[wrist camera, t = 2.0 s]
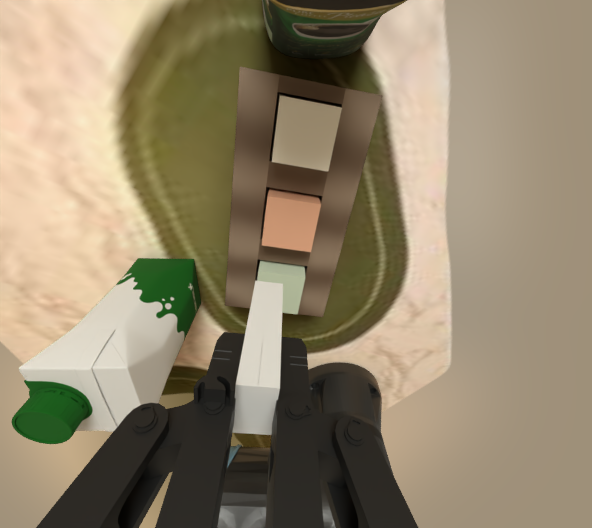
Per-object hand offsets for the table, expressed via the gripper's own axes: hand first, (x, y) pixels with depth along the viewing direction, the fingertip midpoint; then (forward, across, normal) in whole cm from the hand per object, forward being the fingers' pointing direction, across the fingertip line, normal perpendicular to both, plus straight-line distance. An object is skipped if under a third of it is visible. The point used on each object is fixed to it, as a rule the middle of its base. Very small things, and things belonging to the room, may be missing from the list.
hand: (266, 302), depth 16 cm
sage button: (+16, -1, +8) cm, 18 cm away
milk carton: (+20, +13, +13) cm, 27 cm away
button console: (+20, -1, 0) cm, 20 cm away
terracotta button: (+16, -1, 0) cm, 16 cm away
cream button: (+16, -2, -8) cm, 18 cm away
